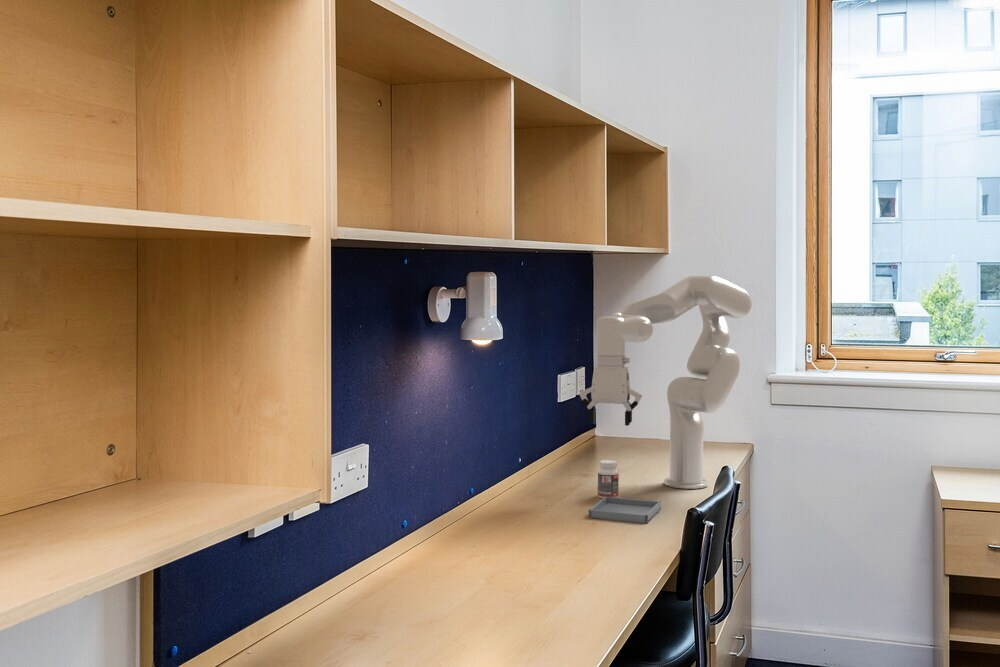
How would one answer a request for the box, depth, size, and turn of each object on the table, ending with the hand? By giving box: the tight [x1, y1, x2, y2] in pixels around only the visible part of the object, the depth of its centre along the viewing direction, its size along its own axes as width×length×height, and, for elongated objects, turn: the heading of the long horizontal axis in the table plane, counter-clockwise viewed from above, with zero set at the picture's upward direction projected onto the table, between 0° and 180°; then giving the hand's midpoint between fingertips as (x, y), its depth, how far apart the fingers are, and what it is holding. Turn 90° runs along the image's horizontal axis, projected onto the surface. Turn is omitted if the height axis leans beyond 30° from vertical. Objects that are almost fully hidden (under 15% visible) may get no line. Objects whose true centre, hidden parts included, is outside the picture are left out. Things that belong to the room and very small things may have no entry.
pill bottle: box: [597, 459, 620, 500], centre depth 267 cm, size 6×6×10 cm
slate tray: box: [588, 497, 662, 524], centre depth 249 cm, size 16×15×2 cm
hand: (610, 424), depth 265 cm, fingers open, 9 cm apart
